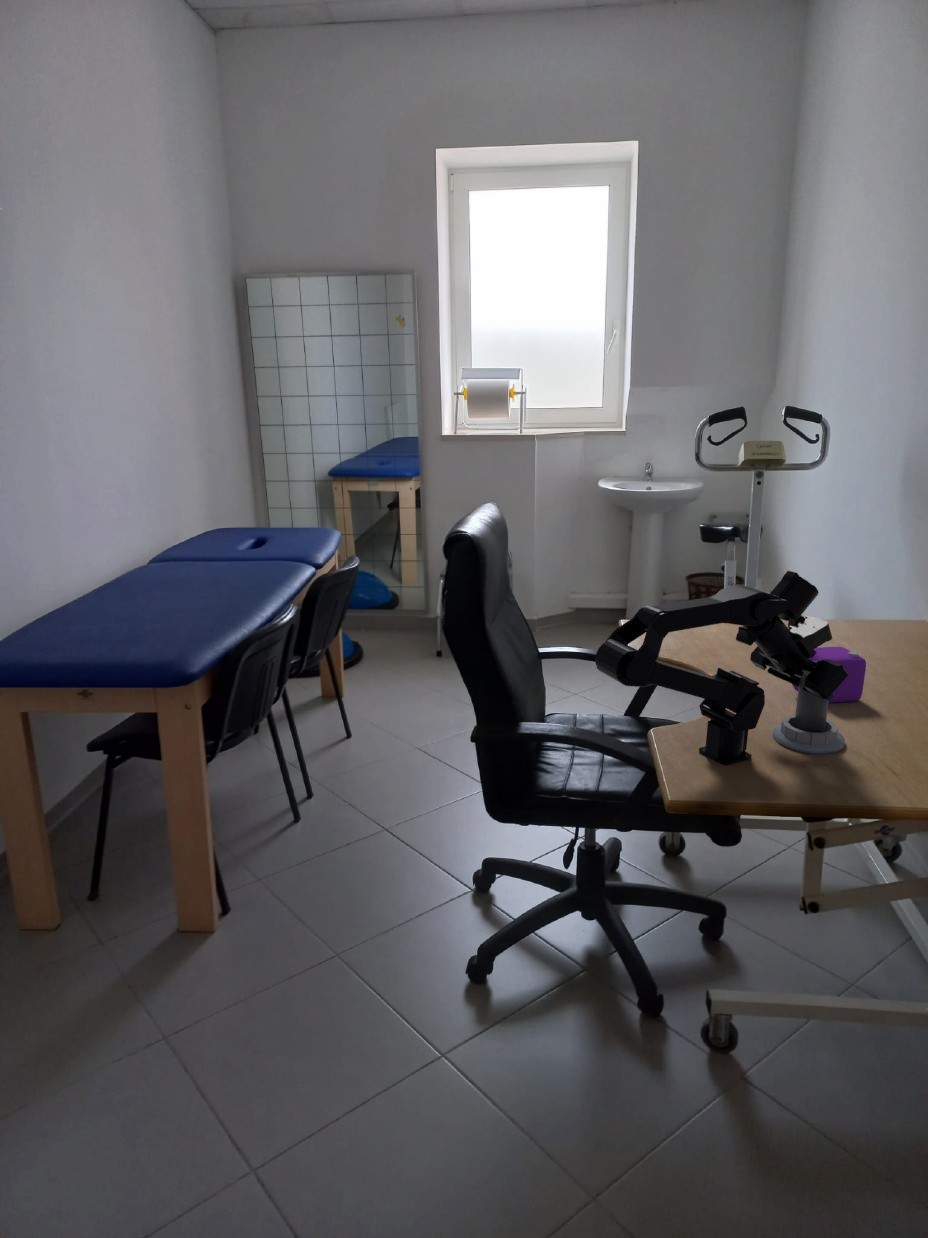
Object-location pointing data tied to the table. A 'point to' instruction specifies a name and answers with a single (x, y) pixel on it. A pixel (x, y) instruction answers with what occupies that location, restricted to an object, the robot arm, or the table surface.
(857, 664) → the toy camera
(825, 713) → the grey domed cylinder
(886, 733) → the table surface
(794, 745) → the ring
